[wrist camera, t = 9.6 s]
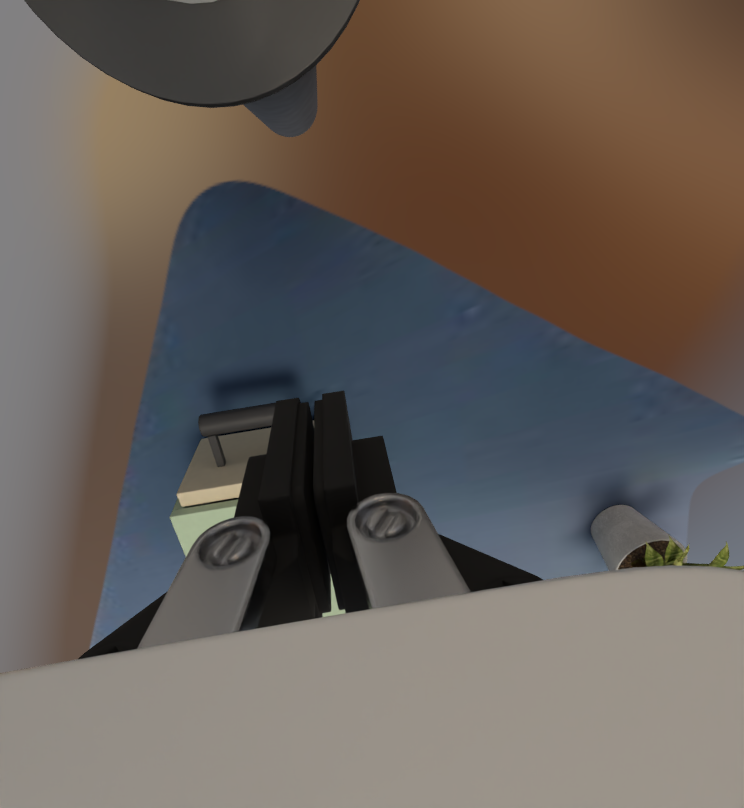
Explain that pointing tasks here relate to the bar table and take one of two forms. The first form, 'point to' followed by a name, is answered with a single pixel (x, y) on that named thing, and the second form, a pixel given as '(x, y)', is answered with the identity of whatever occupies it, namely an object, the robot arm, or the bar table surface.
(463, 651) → the robot arm
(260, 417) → the drawer
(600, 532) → the house plant
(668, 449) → the bar table surface
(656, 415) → the bar table surface
